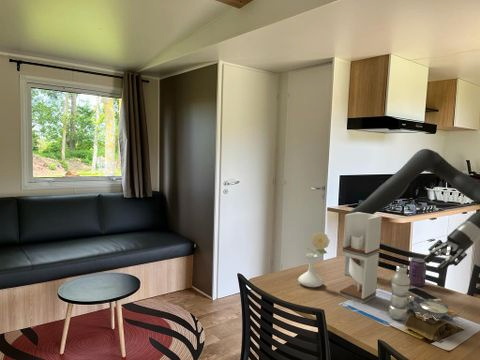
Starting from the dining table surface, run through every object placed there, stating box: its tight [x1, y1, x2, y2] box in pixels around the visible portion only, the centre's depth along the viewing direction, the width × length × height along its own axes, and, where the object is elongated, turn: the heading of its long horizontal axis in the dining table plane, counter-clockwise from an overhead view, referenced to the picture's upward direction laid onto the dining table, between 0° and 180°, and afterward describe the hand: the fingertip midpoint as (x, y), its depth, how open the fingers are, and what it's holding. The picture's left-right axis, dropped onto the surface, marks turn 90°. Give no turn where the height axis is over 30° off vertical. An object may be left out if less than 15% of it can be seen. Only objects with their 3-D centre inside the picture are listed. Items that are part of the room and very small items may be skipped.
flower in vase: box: [297, 231, 331, 288], centre depth 159 cm, size 13×11×25 cm
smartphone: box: [408, 286, 442, 303], centre depth 155 cm, size 8×1×15 cm
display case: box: [339, 212, 383, 304], centre depth 149 cm, size 11×11×35 cm
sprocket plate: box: [407, 295, 455, 322], centre depth 139 cm, size 19×18×4 cm
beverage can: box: [408, 257, 428, 287], centre depth 166 cm, size 7×7×12 cm
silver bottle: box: [388, 264, 411, 321], centre depth 130 cm, size 6×7×20 cm
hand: (432, 265), depth 130 cm, fingers open, 8 cm apart
